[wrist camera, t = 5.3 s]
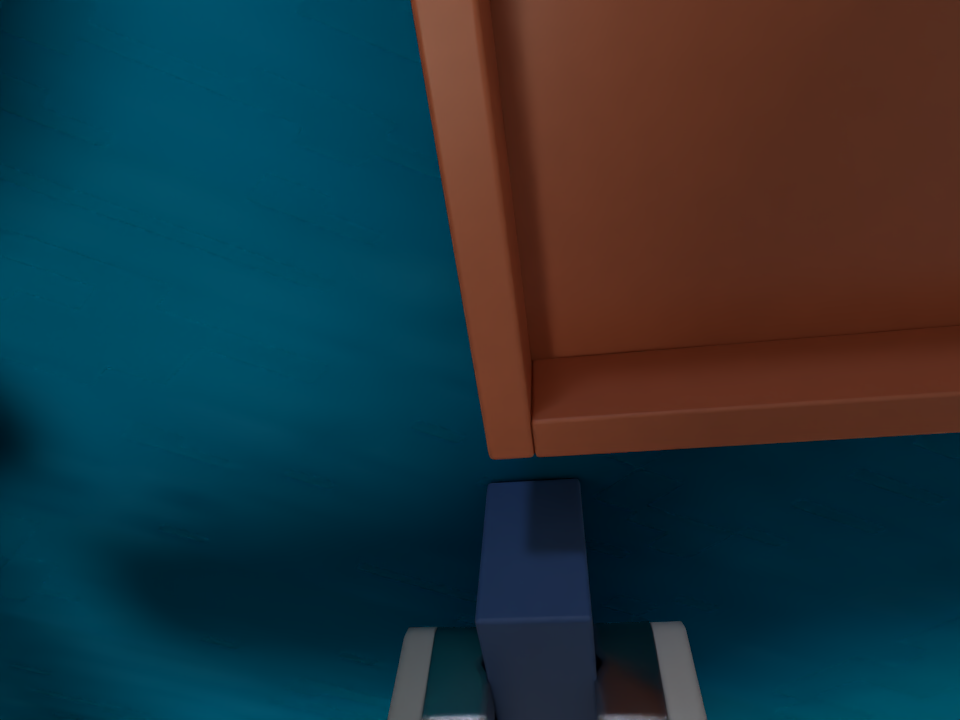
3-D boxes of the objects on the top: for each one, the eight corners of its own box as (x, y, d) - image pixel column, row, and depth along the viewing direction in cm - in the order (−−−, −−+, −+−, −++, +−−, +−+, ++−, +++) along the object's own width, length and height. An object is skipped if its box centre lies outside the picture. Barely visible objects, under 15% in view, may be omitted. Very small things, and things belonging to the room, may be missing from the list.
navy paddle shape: (430, 484, 11) (401, 624, 9) (638, 473, 10) (670, 617, 8) (493, 746, 15) (485, 887, 13) (642, 746, 15) (663, 894, 12)
